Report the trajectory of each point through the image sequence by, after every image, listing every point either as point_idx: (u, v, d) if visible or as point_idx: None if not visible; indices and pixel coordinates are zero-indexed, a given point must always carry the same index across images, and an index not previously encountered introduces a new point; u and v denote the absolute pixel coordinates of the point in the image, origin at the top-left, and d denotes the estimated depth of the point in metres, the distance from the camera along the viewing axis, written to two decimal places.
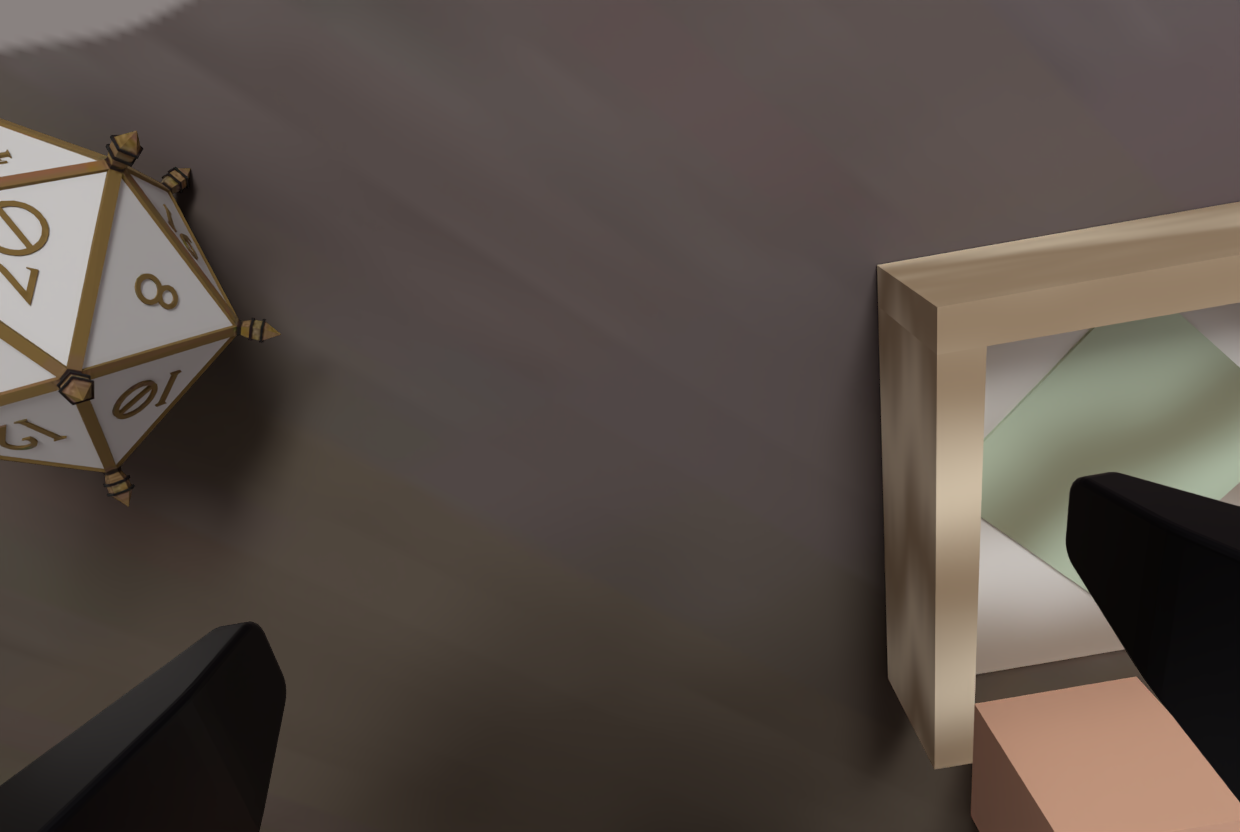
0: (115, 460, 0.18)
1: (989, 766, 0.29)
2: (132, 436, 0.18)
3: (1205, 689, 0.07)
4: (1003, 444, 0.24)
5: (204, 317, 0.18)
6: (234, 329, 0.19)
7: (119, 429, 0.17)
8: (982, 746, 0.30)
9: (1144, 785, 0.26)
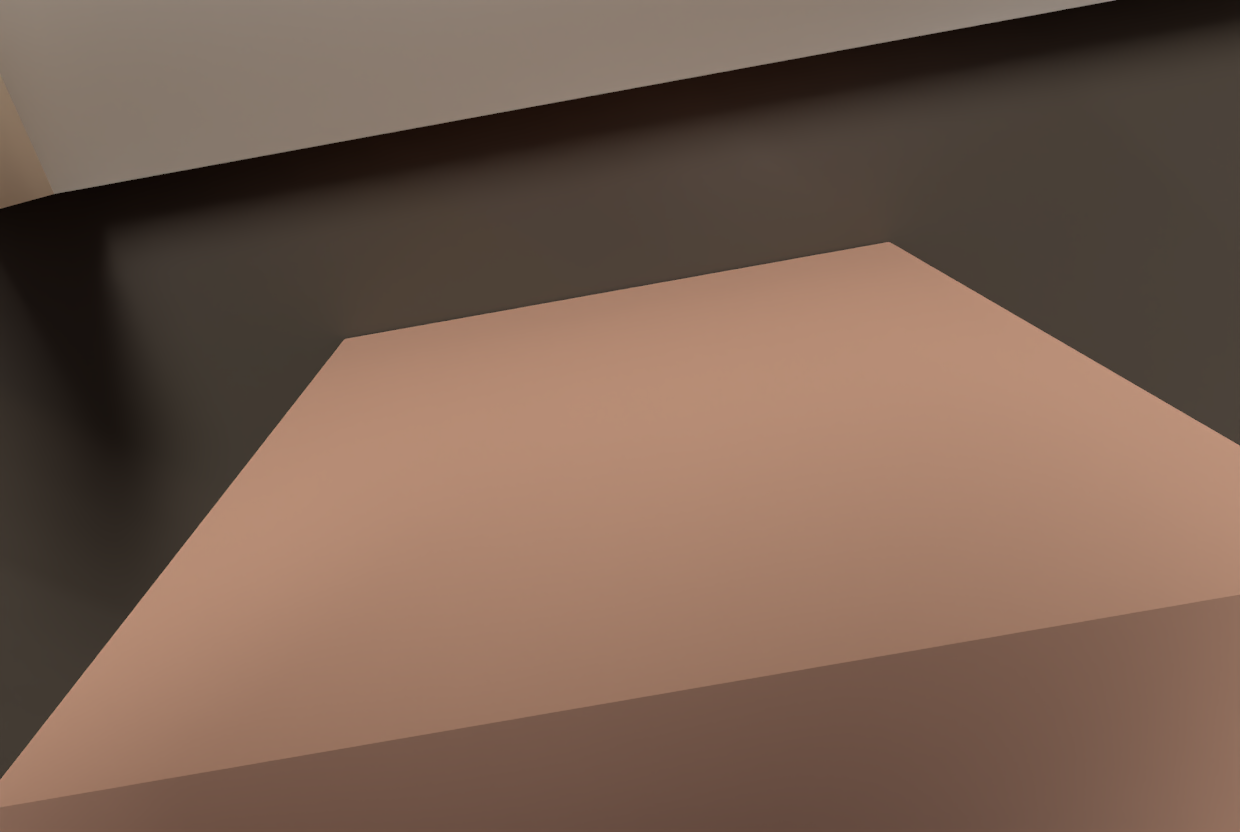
0: None
1: None
2: None
3: None
4: None
5: None
6: None
7: None
8: None
9: (734, 475, 0.05)
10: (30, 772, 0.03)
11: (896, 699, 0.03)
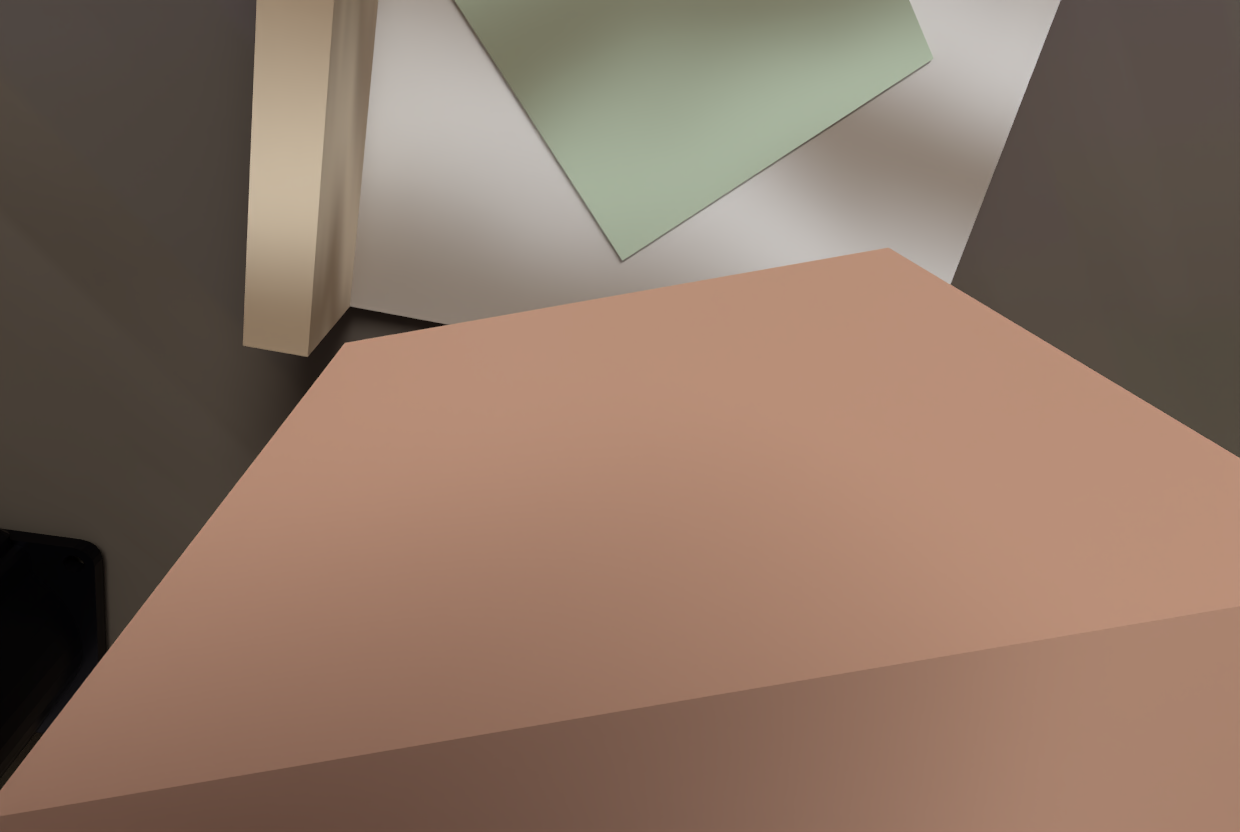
0: None
1: None
2: None
3: None
4: None
5: None
6: None
7: None
8: None
9: (731, 483, 0.05)
10: (34, 777, 0.03)
11: (894, 710, 0.03)
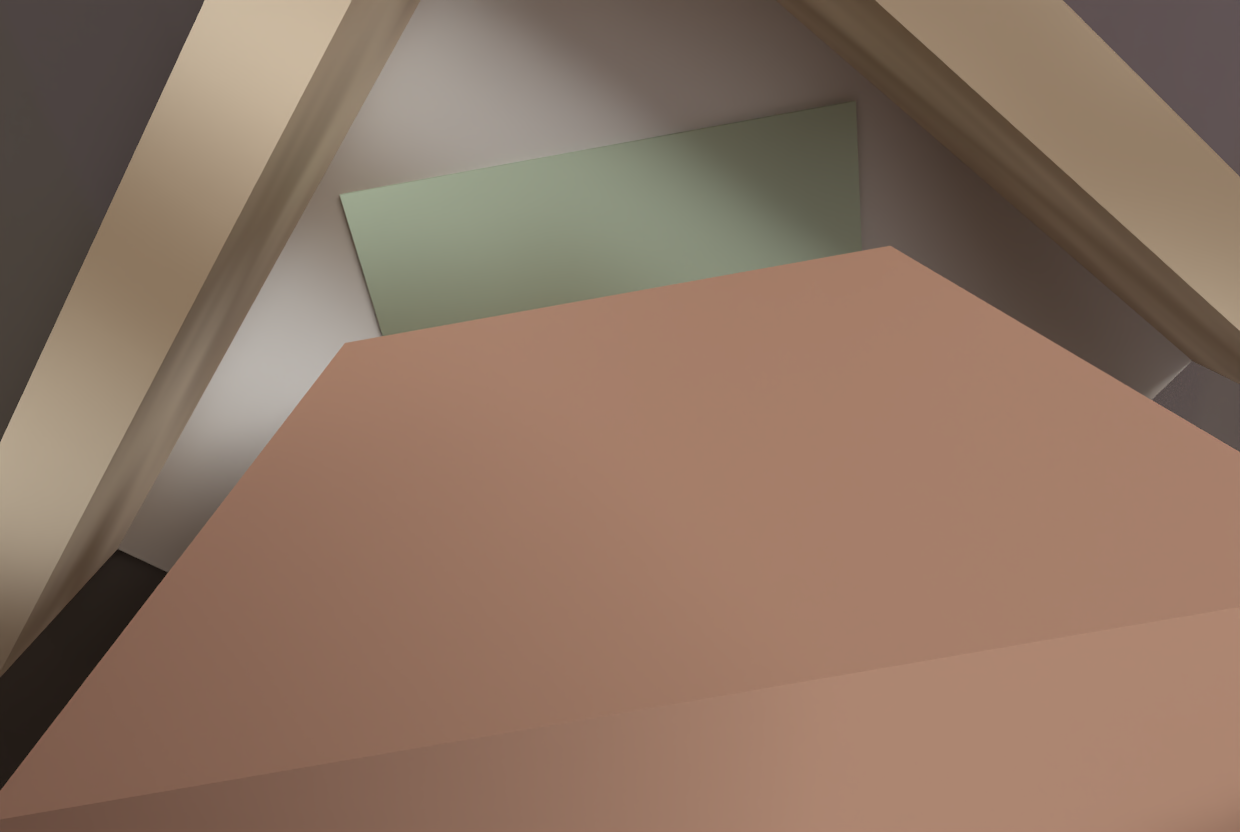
0: None
1: None
2: None
3: None
4: (489, 211, 0.13)
5: None
6: None
7: None
8: None
9: (734, 482, 0.05)
10: (31, 780, 0.03)
11: (898, 711, 0.03)
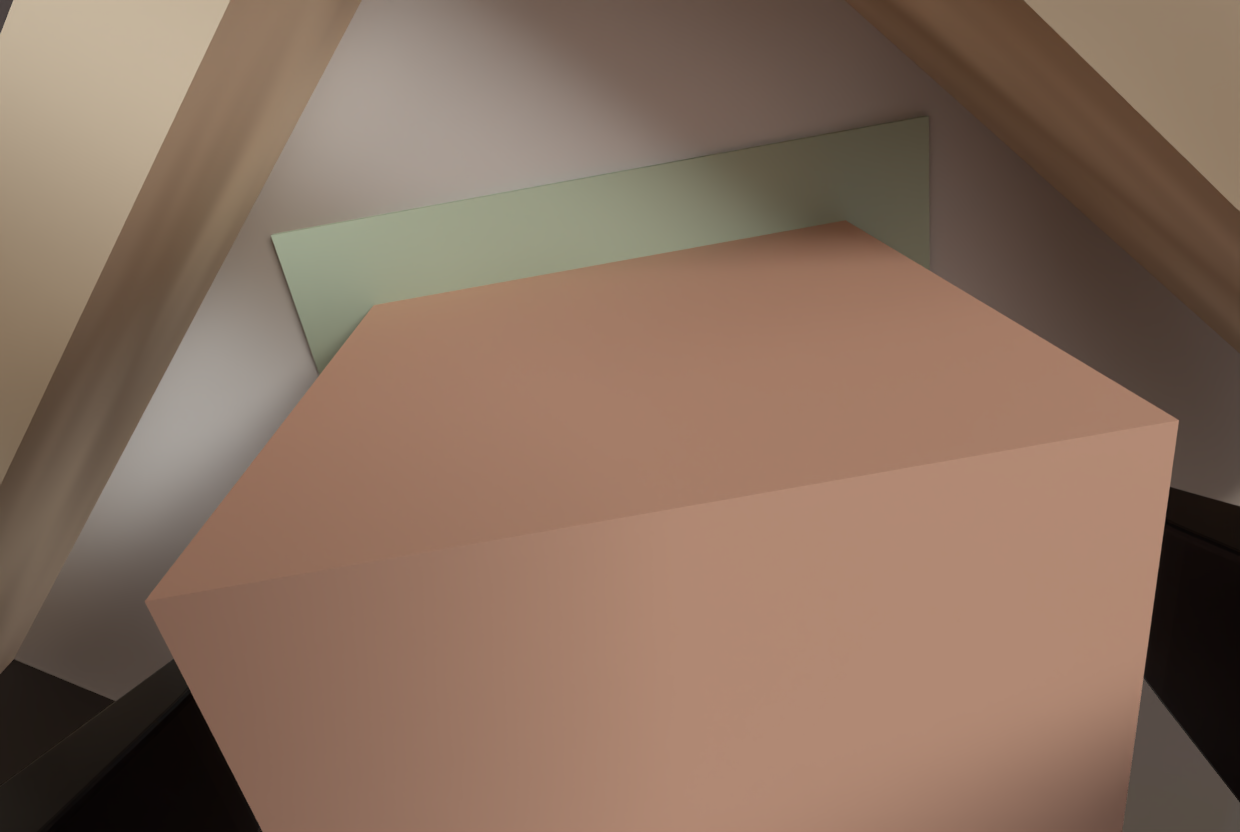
0: None
1: None
2: None
3: (1205, 689, 0.07)
4: (462, 255, 0.10)
5: None
6: None
7: None
8: None
9: (695, 389, 0.06)
10: (179, 578, 0.05)
11: (798, 524, 0.05)
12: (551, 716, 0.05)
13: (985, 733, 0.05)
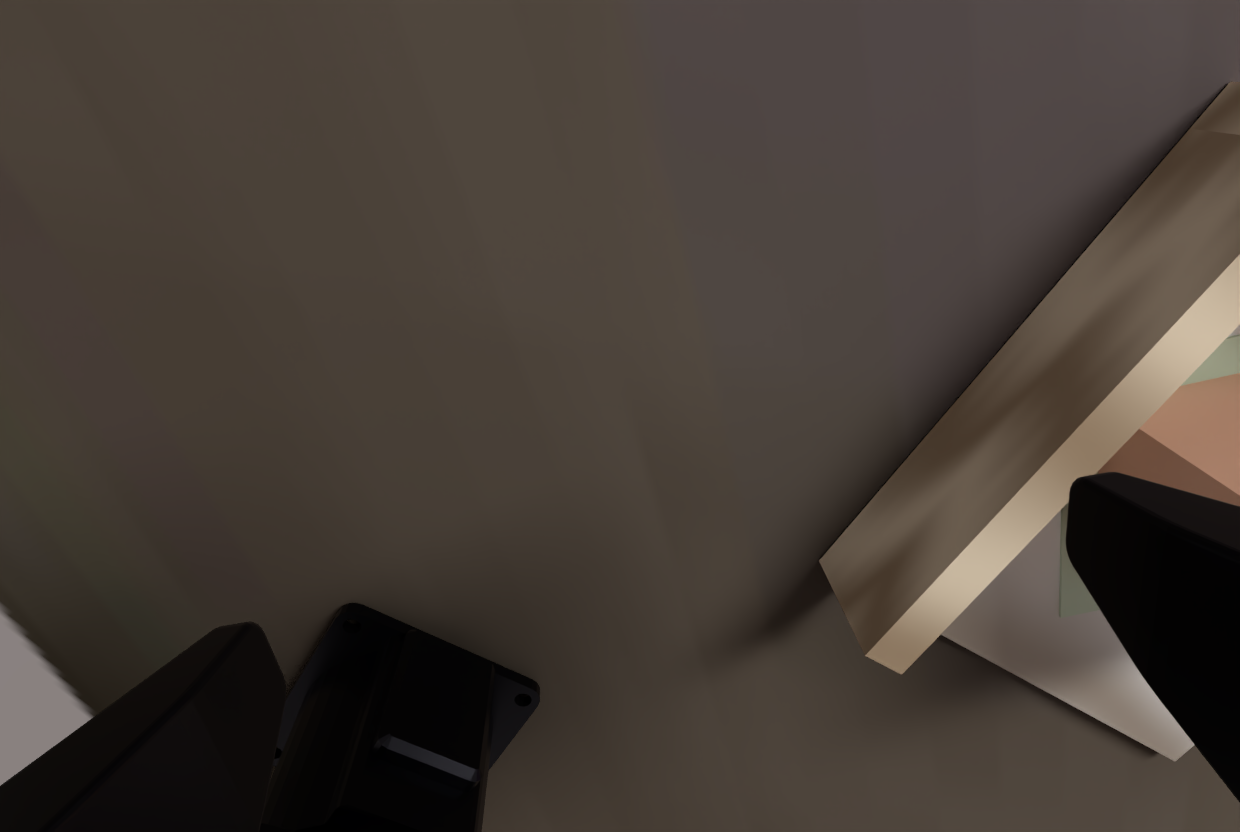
0: None
1: None
2: None
3: (1205, 689, 0.07)
4: None
5: None
6: None
7: None
8: (1117, 463, 0.21)
9: None
10: None
11: None
12: None
13: None
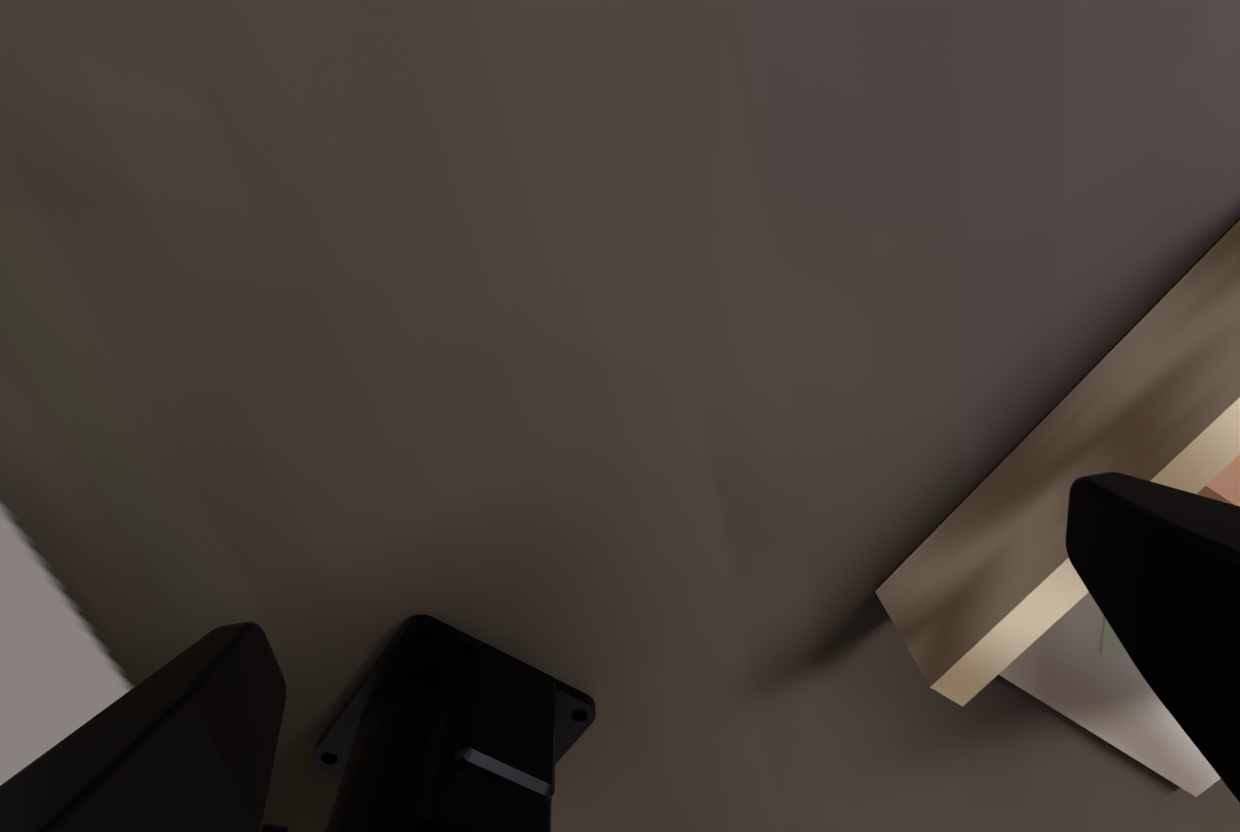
0: None
1: None
2: None
3: (1205, 689, 0.07)
4: None
5: None
6: None
7: None
8: None
9: None
10: None
11: None
12: None
13: None
